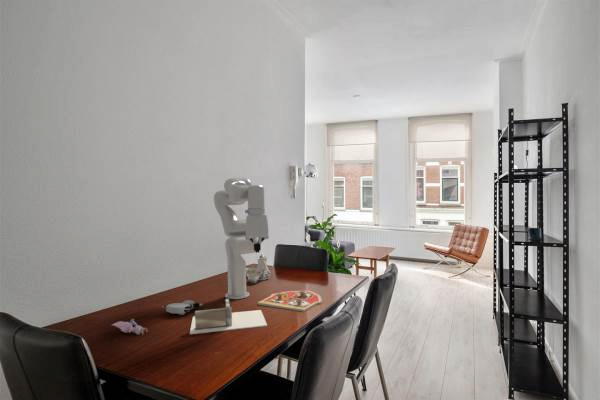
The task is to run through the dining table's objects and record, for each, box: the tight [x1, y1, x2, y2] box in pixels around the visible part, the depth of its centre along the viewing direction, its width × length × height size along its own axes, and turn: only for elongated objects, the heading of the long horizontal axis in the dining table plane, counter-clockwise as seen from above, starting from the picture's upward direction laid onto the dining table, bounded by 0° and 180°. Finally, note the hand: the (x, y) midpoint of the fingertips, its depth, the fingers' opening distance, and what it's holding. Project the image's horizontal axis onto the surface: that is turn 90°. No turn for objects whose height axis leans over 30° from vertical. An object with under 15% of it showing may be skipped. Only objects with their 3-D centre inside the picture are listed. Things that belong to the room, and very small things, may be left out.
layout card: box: [189, 309, 268, 335], centre depth 149 cm, size 20×30×1 cm, turn 103°
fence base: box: [194, 306, 233, 329], centre depth 142 cm, size 2×14×8 cm, turn 103°
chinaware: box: [246, 253, 272, 284], centre depth 225 cm, size 28×17×17 cm, turn 18°
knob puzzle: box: [257, 289, 323, 313], centre depth 178 cm, size 29×30×4 cm
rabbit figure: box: [111, 318, 148, 336], centre depth 139 cm, size 6×6×15 cm
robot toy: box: [162, 299, 203, 316], centre depth 164 cm, size 12×4×15 cm
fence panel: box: [225, 298, 231, 308], centre depth 150 cm, size 12×1×7 cm, turn 14°
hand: (257, 252), depth 162 cm, fingers closed
